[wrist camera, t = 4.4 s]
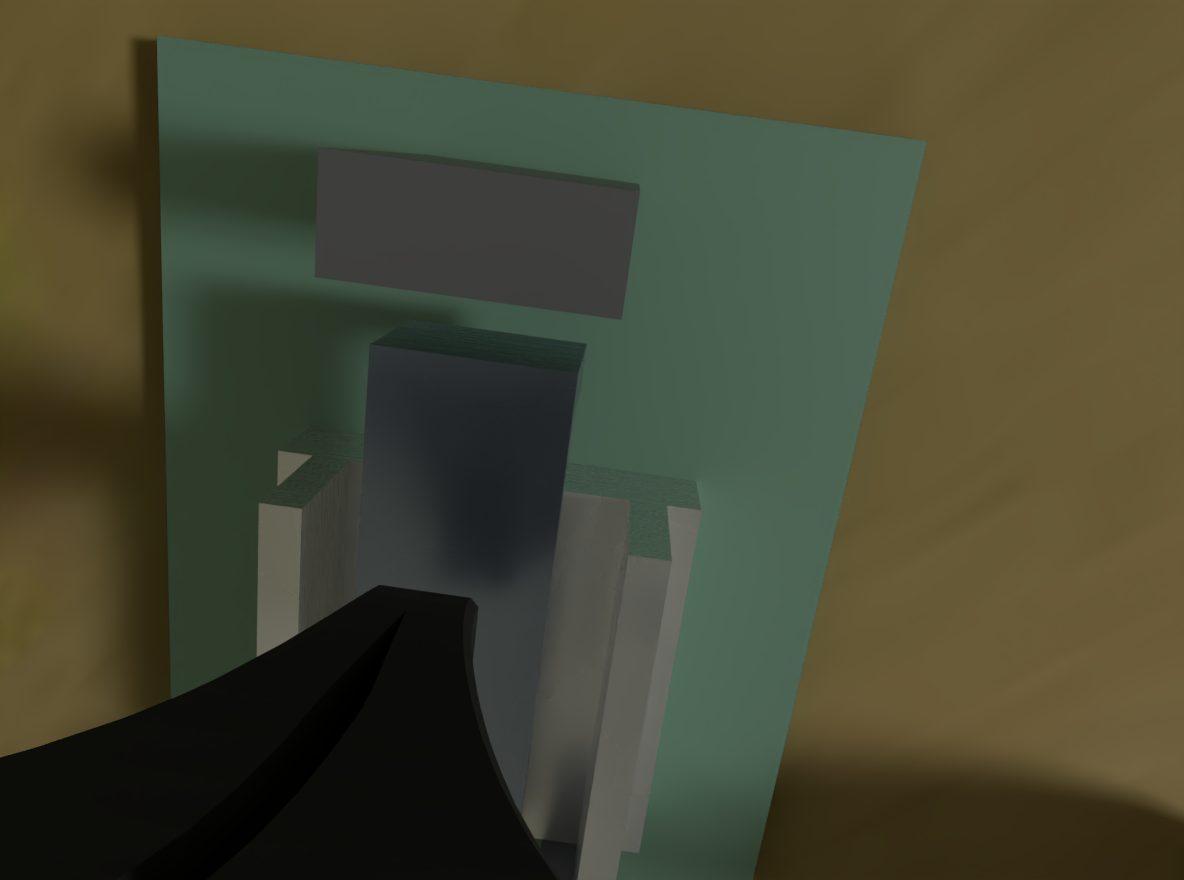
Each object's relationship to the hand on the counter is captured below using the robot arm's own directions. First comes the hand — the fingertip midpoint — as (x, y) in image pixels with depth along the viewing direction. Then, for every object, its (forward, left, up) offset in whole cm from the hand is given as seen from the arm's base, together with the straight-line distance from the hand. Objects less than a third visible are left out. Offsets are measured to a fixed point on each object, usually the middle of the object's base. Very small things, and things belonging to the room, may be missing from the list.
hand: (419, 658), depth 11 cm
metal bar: (-2, -2, -4) cm, 5 cm away
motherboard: (-2, -2, -8) cm, 8 cm away
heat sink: (-3, -2, -7) cm, 8 cm away
